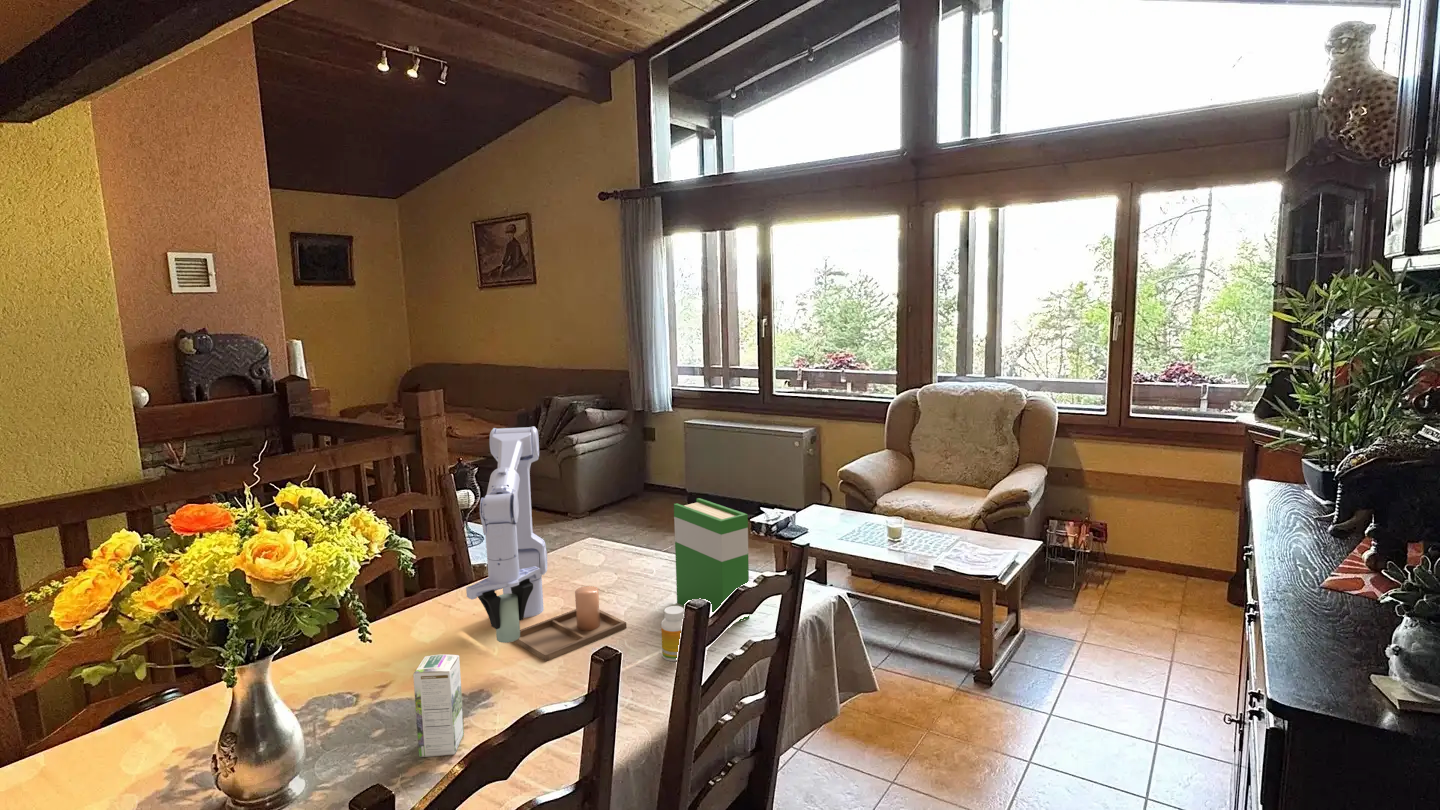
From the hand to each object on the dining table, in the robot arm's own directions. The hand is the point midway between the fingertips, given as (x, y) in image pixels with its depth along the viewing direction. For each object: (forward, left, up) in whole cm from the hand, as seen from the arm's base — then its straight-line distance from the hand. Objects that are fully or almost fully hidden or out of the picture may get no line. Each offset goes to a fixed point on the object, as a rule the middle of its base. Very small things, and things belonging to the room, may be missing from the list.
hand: (507, 623), depth 143 cm
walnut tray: (-4, +16, -10) cm, 19 cm away
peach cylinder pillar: (-4, +21, -9) cm, 23 cm away
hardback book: (+9, +46, -10) cm, 48 cm away
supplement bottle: (+19, +26, -10) cm, 34 cm away
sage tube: (0, 0, -3) cm, 3 cm away
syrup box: (+14, -20, -10) cm, 26 cm away
